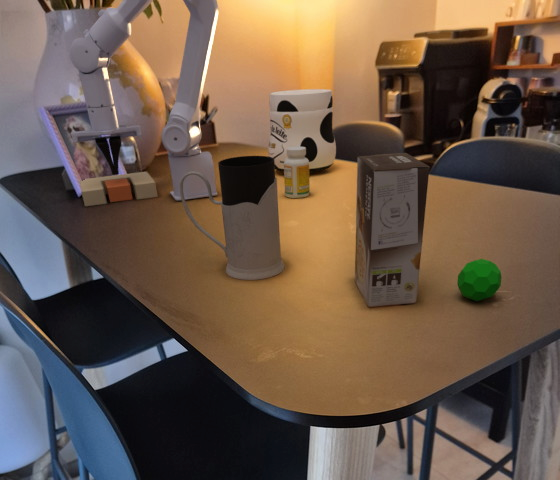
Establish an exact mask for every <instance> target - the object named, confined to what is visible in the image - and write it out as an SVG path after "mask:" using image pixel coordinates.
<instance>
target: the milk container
mask: <svg viewBox="0 0 560 480" xmlns="http://www.w3.org/2000/svg"><path fill="white" fill-rule="evenodd" d="M333 101H334V99H333V91H332V89H326V88H322V89H321V88H306V89H305V88H304V89H291V90H289V89H288V90H280V91H272V92H270V94H269V105H268V106H269V124H270V136H269V142H268V148H267V153H268V157H272V158H274V162H275V171H279V172H282V173H284V161H285V160H286V159H287V158H288V156H287V148H289V147H297V146H300V147H305V148H306V155H305V158H307V159H308V160H309V174H310V173H316V172H321V171H323V170H326V169H329V168H330V167H331V166H332V165H334V163H335V160H336V155H337V145H336V139H335V134H334V129H333V128H334V127H333V119H334V117H333V116H334V115H333V113H334V109H333V106H334V105H333V103H334V102H333Z"/></svg>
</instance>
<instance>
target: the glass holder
mask: <svg viewBox="0 0 560 480" xmlns="http://www.w3.org/2000/svg"><path fill="white" fill-rule="evenodd" d="M217 164H218V174H219V184H220V192H221V201H219V200H215V198H214V196H212V191H211V186H210V184H209V181H208V179H207V178H206V177H205V176H204V175H203V174H201V173H199V172H189V173H187V174H185V175H184V176H183V177H182V179H181V182H180V195H181V199H182V200H181V204H182V206H183V208H184V211H185V213H186V215H187V216H188V218H189V220H190V221H191V222H192V224H193V225H194V227H195V228H196V229H197V230H198V231H200V232H201V233H202V234H203V235H204V236H206V238H208V239H209V240H211V241H212V242H213V243H214V244H216V245H217V246H219V248H221V249H222V250H223V251H224V254H225V258H226V259H227V263H226V264H227V265H226V267H225V273H226V275H228V276H229V277H231V278H232V279H233V278H234V279H236V280H237V279H238V280H244V281H256V280H264V279H268V278H269V279H270V278H272V277H275V276H277V275H279V274H281V273H282V272H284V270H285V264H284V262H283V260H282V253H281V251H282V250H281V234H280V213H279V195H278V179H277V177H276V169H275V162H274V158H272V157H269V155H268V156H266V155H241V156H235V157H228V158H225V159H222V160H219V161H218V162H217ZM189 175H198V176H199V177H201V178H202V179H203V180H204V182H205V183H206V186H207V189H208V194H209V197H208V198H209V200H210V202H211V203H212V204H214V205H219V206H221V213H222V223H223V231H224V232H223V233H224V240H225V245H224V243H222V242H221V241H220V240H218V239H217V238H215V236H213V235H212V234H210V233H209V232H208V231H206V229H204V228H203V227H202V226H201V225H200V223H198V221H197V220H196V219H195V218H194V216H193V214H192V212H191V211H190V209H189V206H188V203H187V202H186V200H185V197H184V192H183V182H184V179H185V178H186V177H187V176H189Z"/></svg>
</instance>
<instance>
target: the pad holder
mask: <svg viewBox="0 0 560 480" xmlns="http://www.w3.org/2000/svg"><path fill="white" fill-rule="evenodd" d="M125 178H126V179H127V181H128V183H129V184H130V188H131V193H132V195H133V197H134V198H135V200H136V201H137V200H145V199H152V198H158V191H157V185H156V182H155V180H154V179H153V177H152V176H151V175H150V174H149V172H148V171H139V172H131V173H130V172H129V173H122V174H116V175H105V176H97V177H89V178H84V179H85V180H83V181H81V182H80V181H79V186H80V192H81V196H82V200H83V203H84V207H86V208H87V207H91V206H100V205H108V200H107V195H108V194H107V190H106V185H105V181H108V180H117V179H125Z"/></svg>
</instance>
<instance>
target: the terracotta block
mask: <svg viewBox="0 0 560 480" xmlns="http://www.w3.org/2000/svg"><path fill="white" fill-rule="evenodd" d="M105 185H106V190H107V194H106V195H107V196H108V200H109V202H110V203H117V202H123V201H124V202H125V201H131V200H133V199H134V198H133V192H132V191H131V188H130V184H129V183H128V181H127V179H126V178H125V179H117V180H108V181H105Z"/></svg>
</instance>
